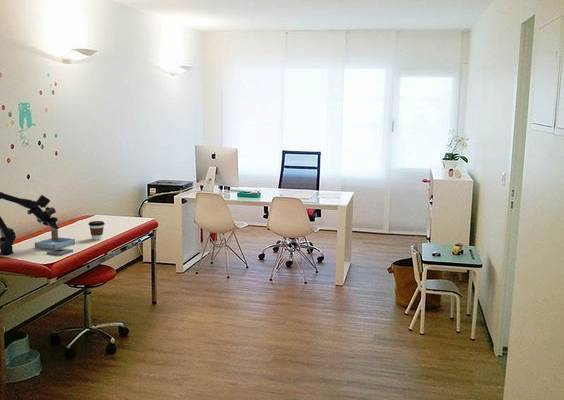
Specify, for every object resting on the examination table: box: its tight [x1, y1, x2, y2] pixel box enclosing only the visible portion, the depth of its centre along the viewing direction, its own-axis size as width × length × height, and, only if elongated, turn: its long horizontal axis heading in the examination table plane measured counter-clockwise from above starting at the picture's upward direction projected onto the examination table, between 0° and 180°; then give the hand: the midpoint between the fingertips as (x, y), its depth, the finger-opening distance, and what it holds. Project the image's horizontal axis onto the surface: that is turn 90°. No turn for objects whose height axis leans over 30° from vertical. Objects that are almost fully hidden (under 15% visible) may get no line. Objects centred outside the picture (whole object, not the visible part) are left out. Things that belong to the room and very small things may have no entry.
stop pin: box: [50, 216, 59, 241], centre depth 364 cm, size 5×5×15 cm
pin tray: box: [34, 236, 76, 251], centre depth 365 cm, size 20×16×4 cm
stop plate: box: [46, 247, 74, 257], centre depth 347 cm, size 11×11×2 cm
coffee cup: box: [88, 220, 106, 241], centre depth 388 cm, size 11×11×12 cm
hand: (56, 227), depth 365 cm, fingers closed on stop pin, 4 cm apart
